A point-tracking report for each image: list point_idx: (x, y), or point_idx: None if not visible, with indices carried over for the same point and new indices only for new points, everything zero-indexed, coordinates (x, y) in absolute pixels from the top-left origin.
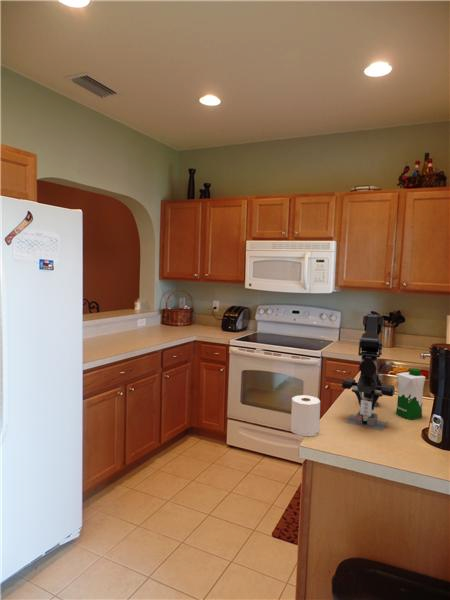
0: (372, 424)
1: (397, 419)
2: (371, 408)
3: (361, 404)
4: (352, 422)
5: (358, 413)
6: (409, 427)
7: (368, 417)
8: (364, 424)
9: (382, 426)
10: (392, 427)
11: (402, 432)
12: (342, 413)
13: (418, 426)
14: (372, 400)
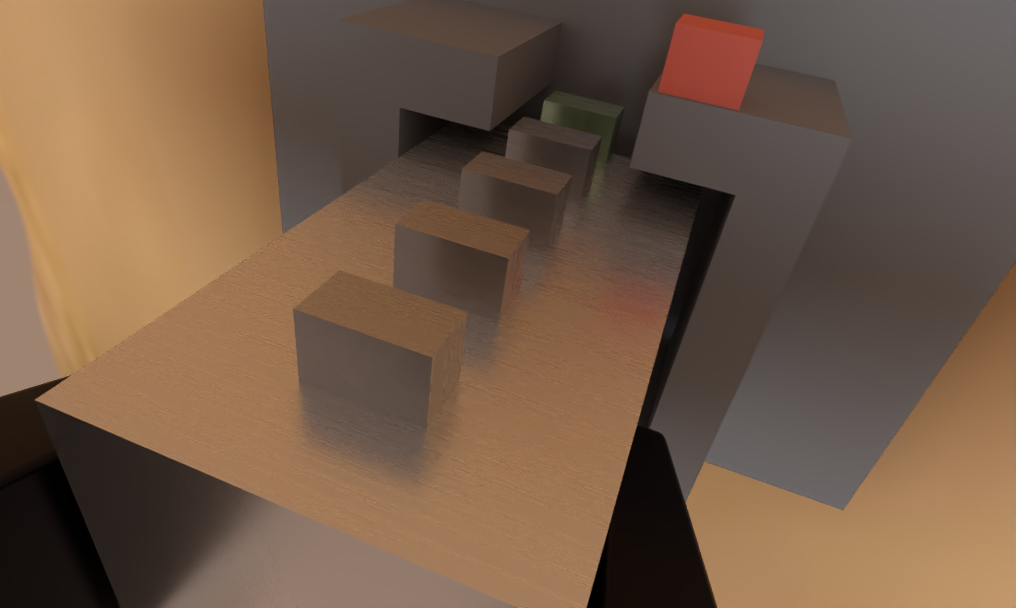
0: (434, 8)
1: None
2: (276, 263)
3: (597, 418)
4: (907, 103)
5: (732, 330)
6: (107, 266)
7: (476, 115)
8: (616, 77)
9: (306, 99)
10: (240, 209)
11: (96, 64)
12: (987, 592)
13: (64, 316)
14: (112, 568)
